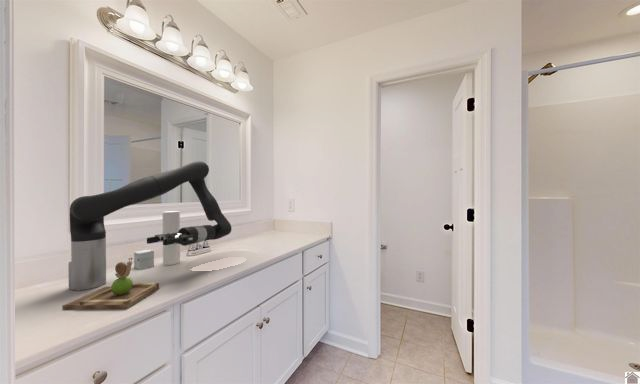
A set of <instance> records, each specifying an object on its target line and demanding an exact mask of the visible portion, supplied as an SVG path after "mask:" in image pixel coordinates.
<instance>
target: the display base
mask: <svg viewBox="0 0 640 384" xmlns="http://www.w3.org/2000/svg"><path fill="white" fill-rule="evenodd" d="M111 286H112V285H111ZM111 286H110V285H109V286H106V285H105V286H104V287H101V288H99V289H97V290H95V291H94V290H93V292H89V293H88V294H85V295H83V296H80V297H78V298H77V299H76V298H75V299H74V300H71V301H69V302H67V303H64V304H62V310H118V309H119V310H122V309H123V310H126V309H127V308H128V309H129V308H131V307H132V306H135V305H136V304H138V303H139V302H141V301H142V300H144V299H146V298H147V297H149V296H151V295H152V294H154V293H156V292H157V291H159V290H160V282H144V283H143V282H139V283H138V282H137V283H135V282H133V286H132V288H131V290H130V291H129V292H127V293H126V294H123V295H116V294H114V293H113V292H112V291H111Z"/></svg>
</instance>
